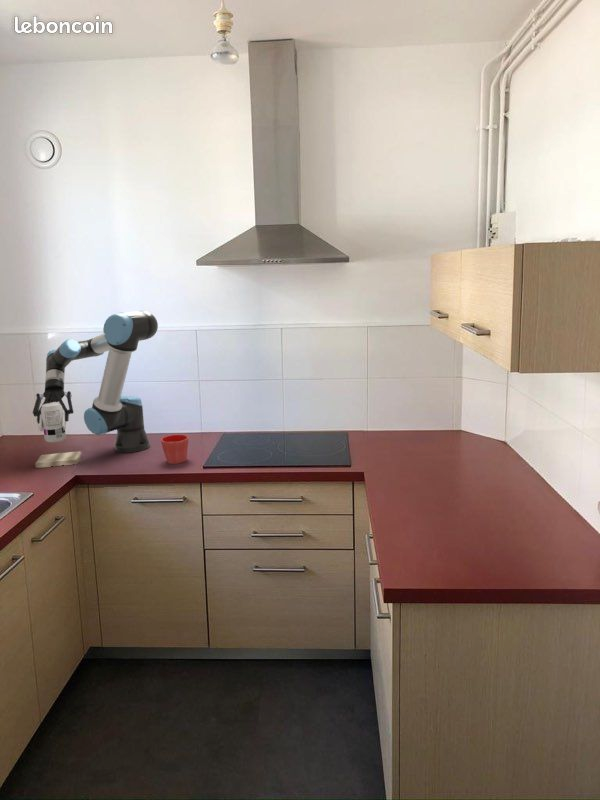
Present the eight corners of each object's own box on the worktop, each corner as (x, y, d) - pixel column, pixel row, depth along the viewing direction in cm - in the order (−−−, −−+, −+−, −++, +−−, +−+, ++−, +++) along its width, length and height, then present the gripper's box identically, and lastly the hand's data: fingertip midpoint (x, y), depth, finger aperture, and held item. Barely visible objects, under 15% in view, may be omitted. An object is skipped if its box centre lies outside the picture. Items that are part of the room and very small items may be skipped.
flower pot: (182, 465, 246) (180, 442, 243) (158, 464, 249) (155, 441, 247) (194, 457, 255) (192, 434, 253) (171, 456, 259) (168, 433, 257)
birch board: (81, 455, 265) (80, 451, 264) (77, 464, 253) (76, 459, 253) (41, 459, 262) (41, 454, 261) (35, 468, 250) (35, 463, 250)
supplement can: (40, 441, 254) (35, 406, 250) (55, 436, 261) (50, 401, 258) (56, 443, 251) (51, 407, 247) (70, 437, 258) (66, 402, 255)
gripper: (82, 385, 268) (81, 431, 257) (30, 389, 265) (27, 435, 253) (78, 375, 262) (77, 421, 250) (26, 379, 258) (22, 426, 246)
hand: (52, 428), depth 251 cm, fingers closed on supplement can, 8 cm apart
